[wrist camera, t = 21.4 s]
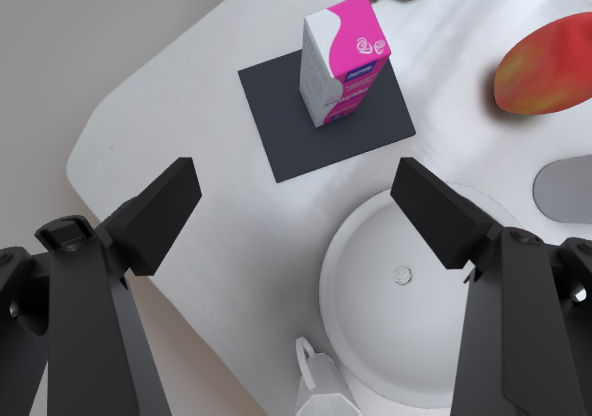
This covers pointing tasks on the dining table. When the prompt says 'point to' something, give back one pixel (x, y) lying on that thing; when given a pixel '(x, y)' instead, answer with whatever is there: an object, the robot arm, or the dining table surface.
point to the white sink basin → (397, 302)
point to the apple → (548, 68)
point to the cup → (322, 386)
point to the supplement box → (340, 59)
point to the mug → (566, 190)
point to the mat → (329, 137)
